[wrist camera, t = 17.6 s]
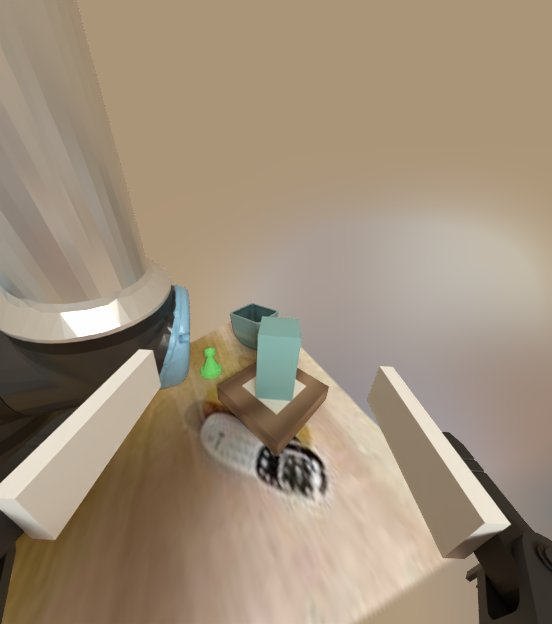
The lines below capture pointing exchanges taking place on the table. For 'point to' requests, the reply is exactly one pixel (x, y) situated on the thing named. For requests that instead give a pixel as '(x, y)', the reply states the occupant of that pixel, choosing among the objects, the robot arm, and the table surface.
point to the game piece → (210, 365)
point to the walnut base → (272, 406)
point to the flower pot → (249, 323)
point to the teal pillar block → (277, 358)
